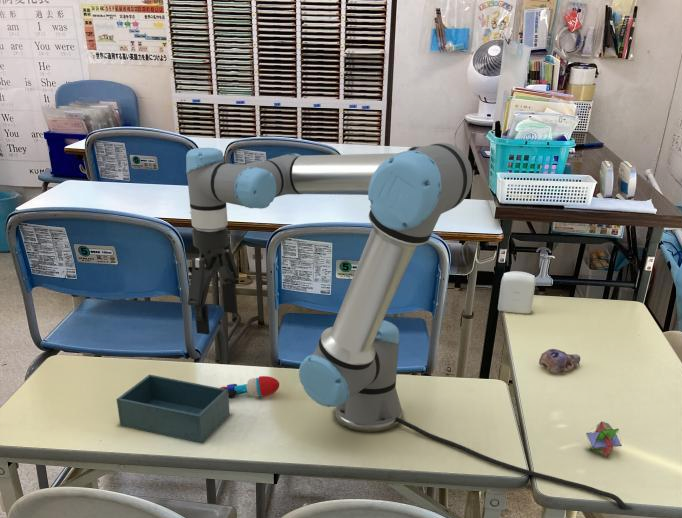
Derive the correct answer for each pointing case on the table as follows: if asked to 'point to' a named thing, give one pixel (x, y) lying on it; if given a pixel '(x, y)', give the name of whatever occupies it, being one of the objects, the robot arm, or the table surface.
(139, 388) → the tote
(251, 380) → the toy figure
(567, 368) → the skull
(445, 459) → the table surface
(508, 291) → the photo printer
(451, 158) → the robot arm
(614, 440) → the geometric puzzle
